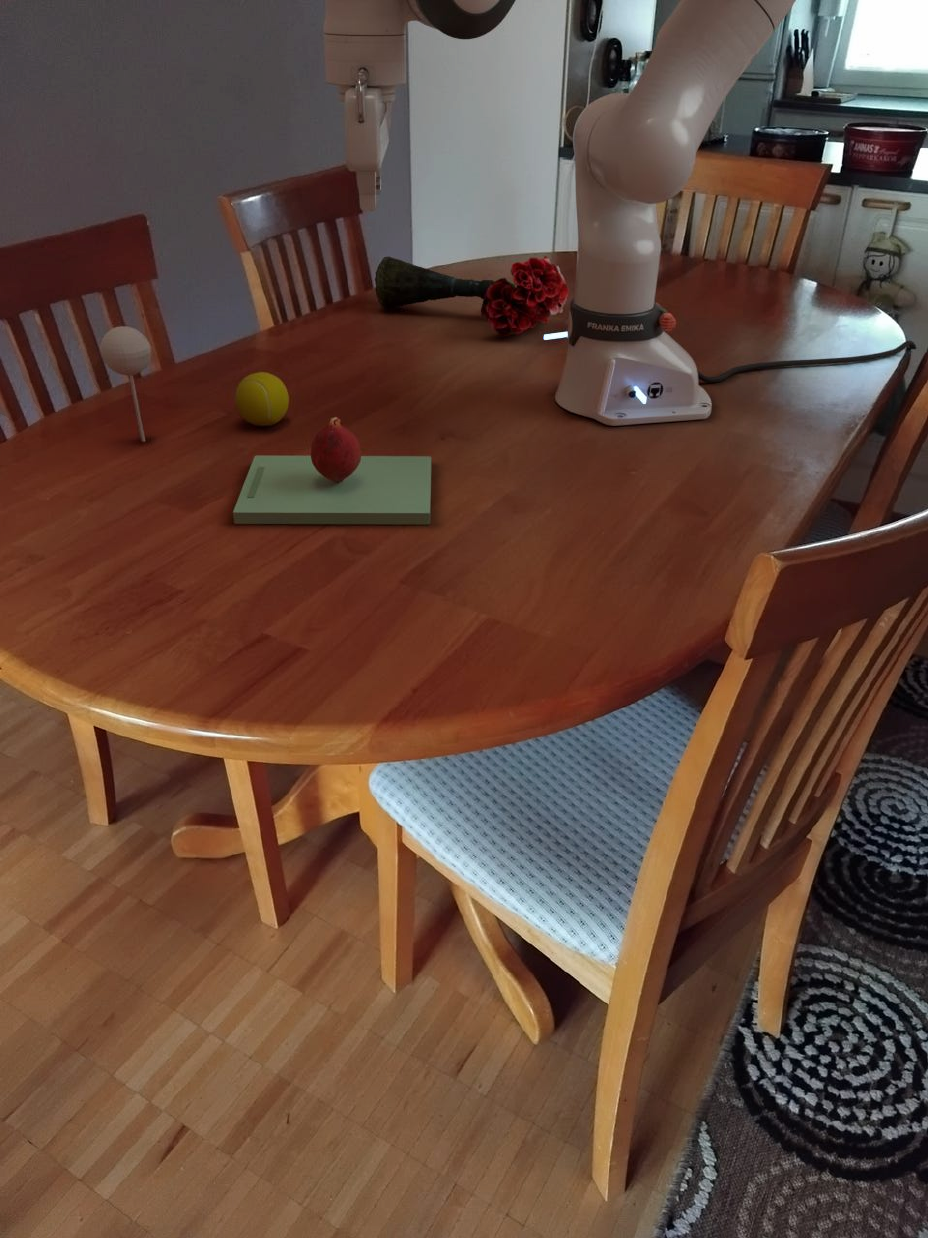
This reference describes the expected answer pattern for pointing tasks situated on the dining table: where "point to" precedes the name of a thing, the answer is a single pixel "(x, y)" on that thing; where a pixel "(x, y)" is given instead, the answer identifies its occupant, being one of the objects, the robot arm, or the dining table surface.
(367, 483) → the cutting board
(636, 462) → the dining table surface
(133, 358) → the lollipop
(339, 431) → the onion
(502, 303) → the carnation
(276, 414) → the tennis ball
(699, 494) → the dining table surface
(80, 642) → the dining table surface
